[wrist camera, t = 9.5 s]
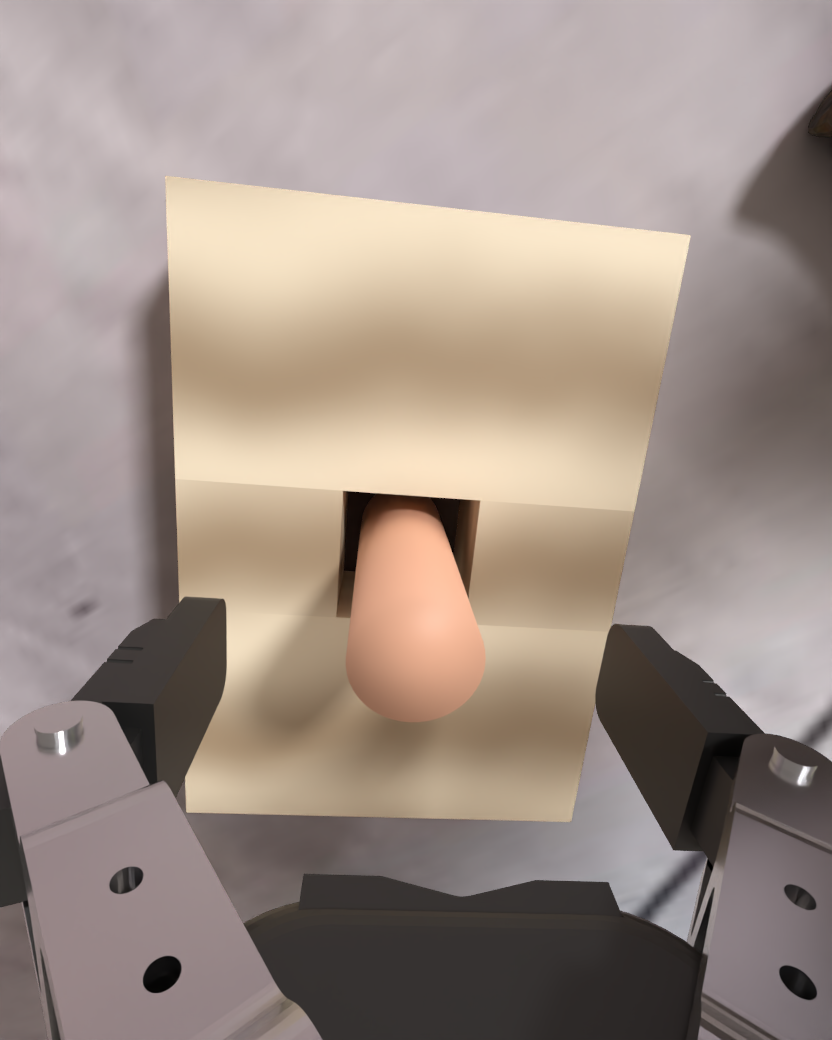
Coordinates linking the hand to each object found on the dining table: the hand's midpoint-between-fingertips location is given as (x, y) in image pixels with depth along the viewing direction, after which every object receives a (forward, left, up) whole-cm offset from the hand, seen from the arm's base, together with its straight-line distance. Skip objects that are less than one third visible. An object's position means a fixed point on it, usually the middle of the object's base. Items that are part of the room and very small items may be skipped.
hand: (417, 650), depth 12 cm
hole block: (0, 0, -10) cm, 10 cm away
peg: (0, 0, -10) cm, 10 cm away
